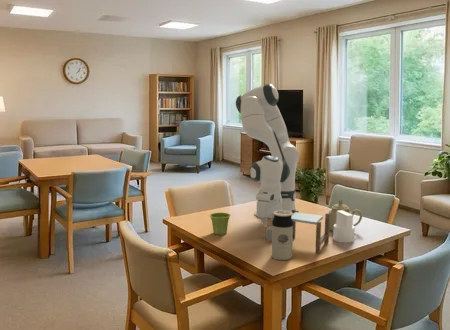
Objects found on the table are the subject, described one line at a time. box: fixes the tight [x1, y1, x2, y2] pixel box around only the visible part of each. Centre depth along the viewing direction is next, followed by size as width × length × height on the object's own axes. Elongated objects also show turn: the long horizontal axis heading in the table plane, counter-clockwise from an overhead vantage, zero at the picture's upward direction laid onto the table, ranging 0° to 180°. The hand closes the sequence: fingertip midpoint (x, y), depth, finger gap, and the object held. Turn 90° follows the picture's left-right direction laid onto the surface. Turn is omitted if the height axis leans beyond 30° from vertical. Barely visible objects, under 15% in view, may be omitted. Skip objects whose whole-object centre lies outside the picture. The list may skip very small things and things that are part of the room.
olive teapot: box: [328, 198, 363, 232], centre depth 214 cm, size 15×11×15 cm
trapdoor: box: [291, 212, 324, 226], centre depth 191 cm, size 15×11×2 cm
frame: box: [292, 209, 330, 255], centre depth 191 cm, size 16×16×13 cm
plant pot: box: [209, 212, 231, 236], centre depth 208 cm, size 9×9×9 cm
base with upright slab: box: [332, 210, 356, 243], centre depth 200 cm, size 9×9×12 cm
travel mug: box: [271, 210, 294, 261], centre depth 177 cm, size 8×8×18 cm
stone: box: [265, 225, 272, 242], centre depth 200 cm, size 5×5×5 cm
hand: (269, 223), depth 200 cm, fingers open, 8 cm apart
